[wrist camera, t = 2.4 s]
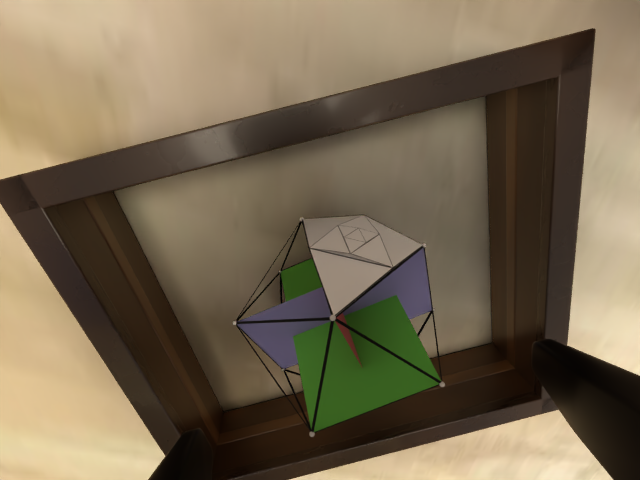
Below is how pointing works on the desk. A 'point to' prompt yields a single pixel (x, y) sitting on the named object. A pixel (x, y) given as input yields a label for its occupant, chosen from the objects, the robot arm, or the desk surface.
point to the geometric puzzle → (349, 319)
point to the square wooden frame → (297, 127)
